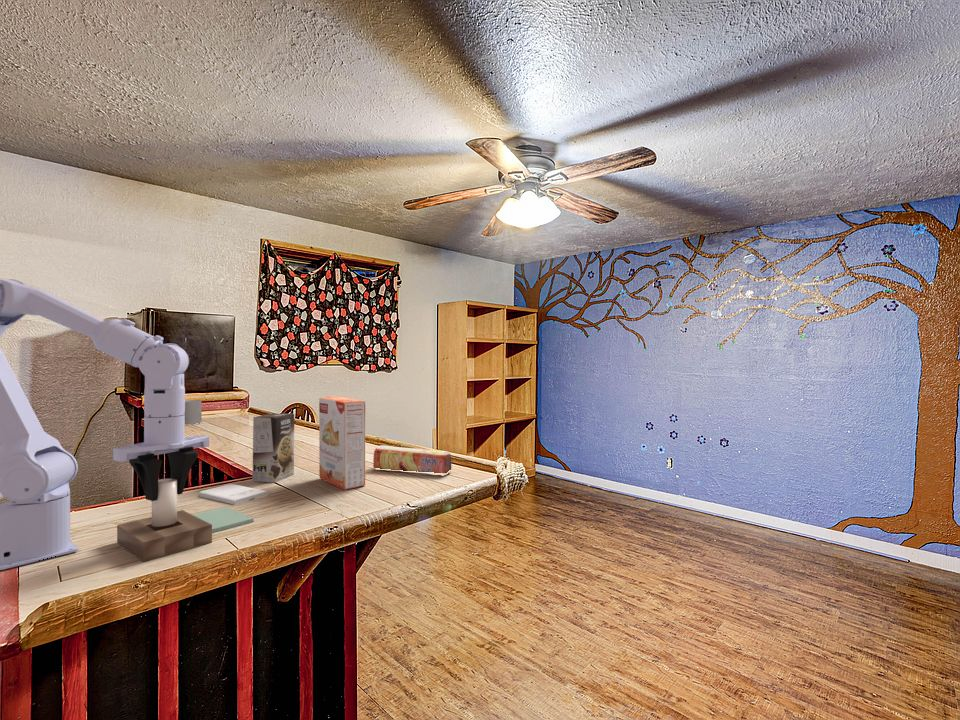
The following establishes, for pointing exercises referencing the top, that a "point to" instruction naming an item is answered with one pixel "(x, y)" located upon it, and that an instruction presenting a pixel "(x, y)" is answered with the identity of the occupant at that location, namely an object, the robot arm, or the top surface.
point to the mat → (224, 518)
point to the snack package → (411, 459)
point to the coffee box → (273, 447)
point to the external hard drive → (232, 494)
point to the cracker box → (342, 441)
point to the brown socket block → (163, 536)
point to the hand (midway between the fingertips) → (164, 496)
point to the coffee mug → (192, 411)
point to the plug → (165, 503)
